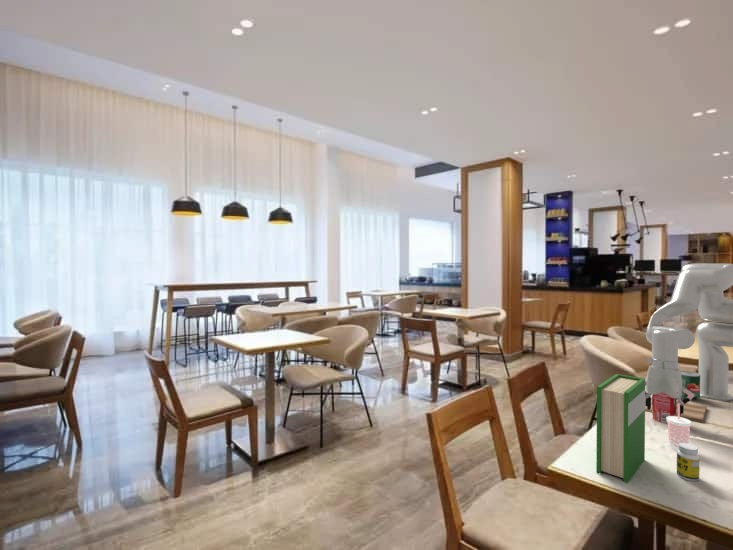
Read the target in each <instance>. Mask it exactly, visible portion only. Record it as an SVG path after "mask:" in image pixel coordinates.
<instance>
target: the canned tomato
mask: <svg viewBox="0 0 733 550" xmlns="http://www.w3.org/2000/svg"><path fill="white" fill-rule="evenodd" d="M680 372H681V377H682V386H683V387H684V388H686V389H687V390H689V391H690V392H692V393H693V394H694V395H695V396H694V397H693V398H692V399H691V400H690V401H692V402H693V401H694V402H698V401H701V400H700V399H701V397H700V374H699V372H695V371H689V370H680ZM681 397H682V398H683V399H685V398H686V397H688V395H687V394H686V393H684V392H683V391H682V396H681Z"/></svg>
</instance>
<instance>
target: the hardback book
mask: <svg viewBox="0 0 733 550" xmlns="http://www.w3.org/2000/svg"><path fill="white" fill-rule="evenodd" d="M645 381H646V378H642V377H638V376H637V377H636V376H631V375H624V374H619V373H615V374H614V375H612V376H611V377H609V378H608V379H606V380H604V381H603V382H602V383H600V384H599V385H598V386H596V470H595V471H596V472H597V474H599V473H600V474H602V472H604V473H607V474H610V475H613V476H615V477H619V478H622V479H623V482H624V483H625V482H626V484H629V482H630V481H631V480H632V478H633V477H634V475H635V474H636V473H637V471H638V470H639V469H640V467H641V465H642V464H643V463H644V462H645V455H646V452H645V450H646V449H645V447H646V445H645V444H646V443H645V441H646V440H645V439H646V411H645V391H646V386H645Z"/></svg>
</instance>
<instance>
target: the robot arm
mask: <svg viewBox="0 0 733 550" xmlns="http://www.w3.org/2000/svg"><path fill="white" fill-rule="evenodd" d="M732 286H733V263H724V262H723V263H704V262H703V263H696V262H695V263H688V264H685V265H683V266H682V267H681V271H680V272H679V274H678V275H677V279H676V282H675V286H674V289H673V293H672V294H671V298H670V301H668V302H667V303H665V304H663V305H662V306H661V307H659V308H657V310H656V311H654V313H652V314H651V316H650V318H649V321H648V325H647V327H646V332H645V339H646V340H647V342H648V343H649V344H651V357H650V358H647V359H646V362H647V363H650V365H648V368H647V373H646V380H645V398H646V400H645V406H647V410H650V409H651V397H652V395H656V394H658V393H666V394H667V395H668V396H669V397H671V398H674V399H676V400H677V401H678V402H679V404H680V416H681V413H682V414H683V413H684V404H686V403H689V402H690V401H691V399H692V398H693V397H694V396H695V395H694V394H693V393H692V392H690V391H689V390H687V389H686V388H684V387H683V386H682V377H681V372H680V371H681V369H680V368H678V367H679V350H686V349H690V348H691V347H693V345H694V344H695V341H696V340H697V344H698V374H700V398H704V399H707V400H711V401H720V402H730V401H733V395H732V394H731V393H729V360H730V359H729V354H728V353H727V351H725V349H724V348H723V347H727V348H733V299H726V298H725V296H724V291H726V290H728V289H729V288H731V287H732ZM697 310H698V315H699V317H700V318H701V319H702V320H704V321H705V322H701V323H699V324H698V325H697V326H696V331H695V333H696V337H695V334H694V333H693V332H692V331H691V330H690V329H687V328H683V327H674V326H666V325H665V326H664V325H663V324H664V323H665V322H666V321H667V320H670V319H671V318H674V317H678V316H682V315H687V314H690V313H693V312H695V311H697ZM695 338H696V340H695ZM663 391H664V392H663ZM682 391H683V392H684V393H686V394H687V395H688V397H686V398H685V399H683V398H682V397H681V396H682Z"/></svg>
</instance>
